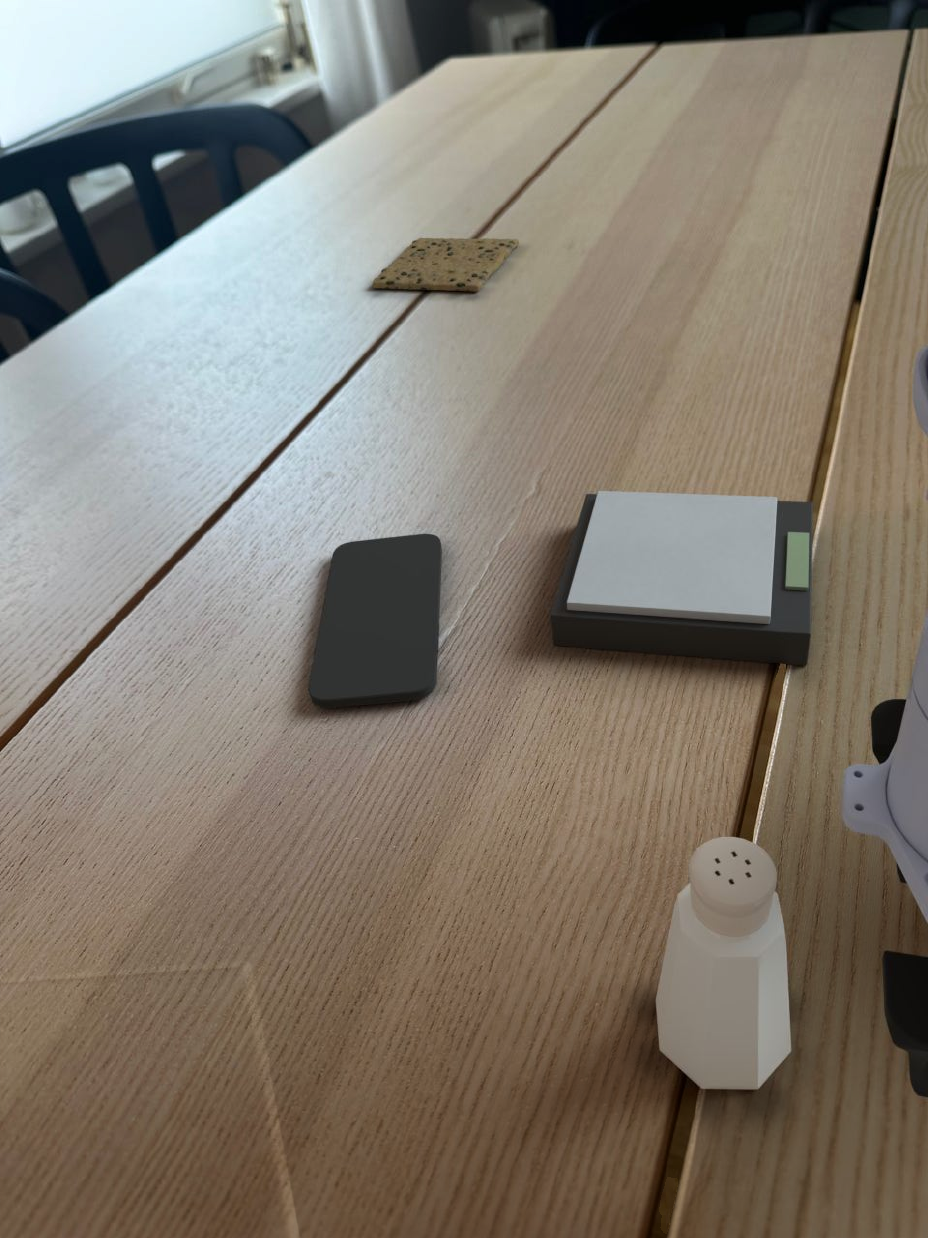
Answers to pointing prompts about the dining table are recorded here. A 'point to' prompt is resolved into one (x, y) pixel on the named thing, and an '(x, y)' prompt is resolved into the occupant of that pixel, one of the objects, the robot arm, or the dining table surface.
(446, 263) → the cookie
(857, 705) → the dining table surface
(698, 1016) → the pepper shaker
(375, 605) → the phone
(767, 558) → the scale
